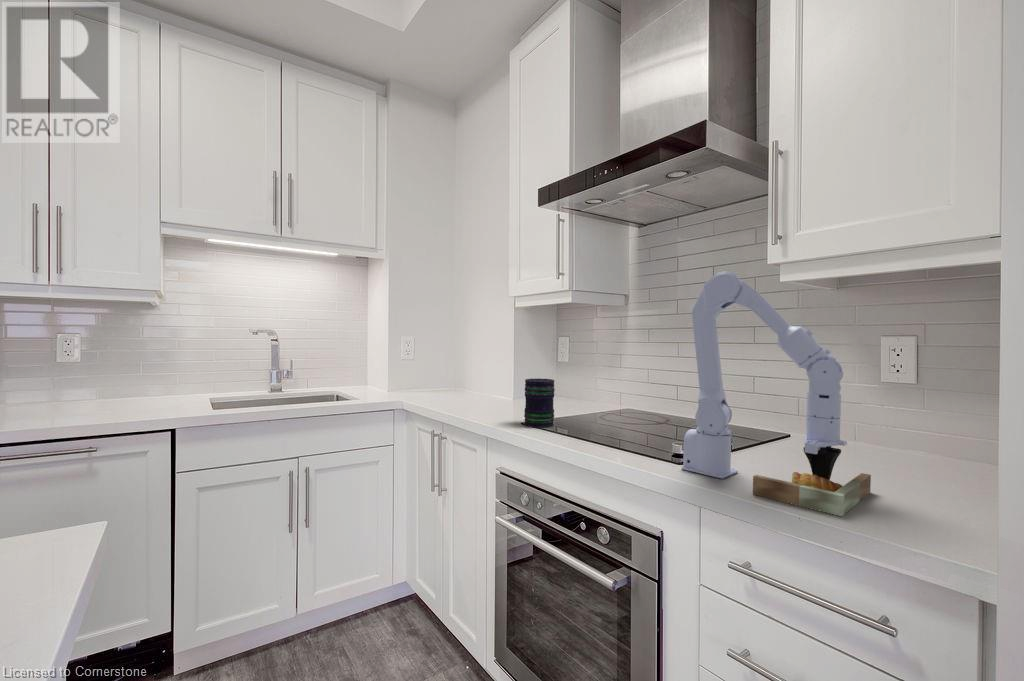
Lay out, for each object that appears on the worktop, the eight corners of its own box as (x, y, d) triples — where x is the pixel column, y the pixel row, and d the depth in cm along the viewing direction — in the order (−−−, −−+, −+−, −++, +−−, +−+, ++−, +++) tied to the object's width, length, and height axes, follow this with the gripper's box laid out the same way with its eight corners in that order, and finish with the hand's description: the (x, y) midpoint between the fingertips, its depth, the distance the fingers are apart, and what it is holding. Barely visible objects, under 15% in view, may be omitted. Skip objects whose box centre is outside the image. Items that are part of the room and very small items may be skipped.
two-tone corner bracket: (752, 494, 92) (753, 476, 92) (789, 475, 105) (789, 459, 105) (841, 516, 81) (841, 496, 81) (870, 492, 94) (870, 474, 94)
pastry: (846, 494, 93) (846, 475, 93) (848, 505, 88) (848, 484, 88) (790, 486, 98) (790, 467, 98) (789, 495, 93) (789, 476, 93)
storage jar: (532, 429, 151) (532, 381, 151) (519, 423, 160) (519, 378, 160) (559, 427, 155) (560, 381, 155) (545, 421, 164) (546, 378, 164)
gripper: (835, 423, 88) (833, 496, 88) (856, 415, 98) (855, 481, 98) (793, 418, 93) (791, 487, 94) (817, 410, 103) (815, 473, 103)
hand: (821, 483), depth 96 cm, fingers closed
